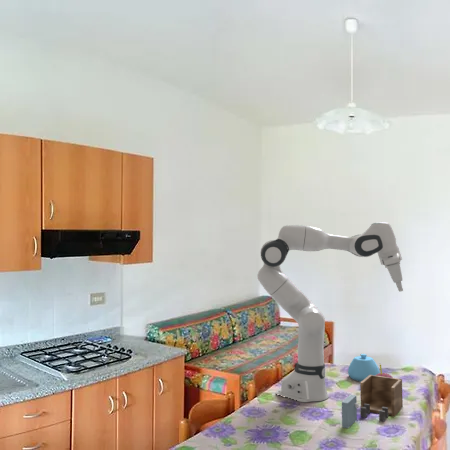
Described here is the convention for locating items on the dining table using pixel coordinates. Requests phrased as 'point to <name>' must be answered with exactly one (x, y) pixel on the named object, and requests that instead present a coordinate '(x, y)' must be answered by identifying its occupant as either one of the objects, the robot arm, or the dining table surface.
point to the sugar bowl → (362, 367)
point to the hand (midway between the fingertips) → (400, 289)
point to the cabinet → (381, 396)
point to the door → (349, 411)
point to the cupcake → (383, 374)
